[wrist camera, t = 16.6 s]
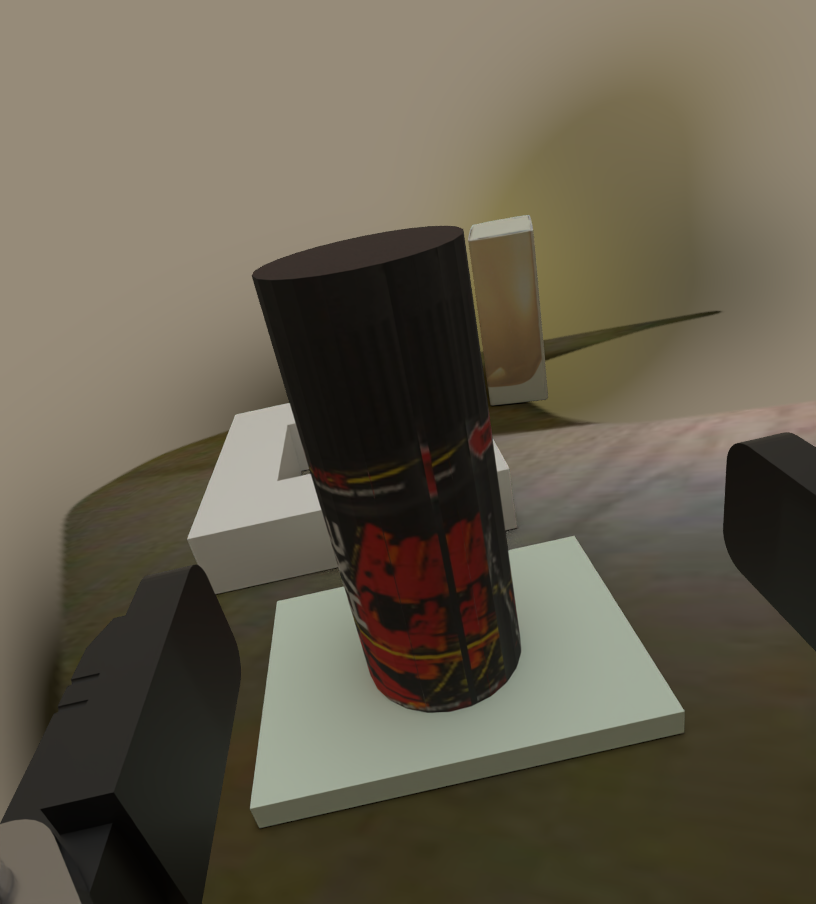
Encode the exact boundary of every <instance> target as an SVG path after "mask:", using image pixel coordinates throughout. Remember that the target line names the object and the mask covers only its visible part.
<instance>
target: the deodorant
mask: <svg viewBox="0 0 816 904" xmlns="http://www.w3.org/2000/svg"><path fill="white" fill-rule="evenodd" d="M252 278H253V281H254V285H255V288H256V291H257V295H258V298H259V302H260V305H261V308H262V311H263V315H264V318H265V322H266V325H267V328H268V332H269V335H270V339H271V342H272V346H273V349H274V352H275V356H276V359H277V362H278V366H279V369H280V372H281V376H282V379H283V383H284V386H285V388H286V393H287V396H288V399H289V403H290V406H291V410H292V413H293V416H294V420H295V423H296V426H297V430H298V433H299V436H300V440H301V443H302V447H303V450H304V453H305V457H306V460H307V463H308V467H309V470H310V474H311V477H312V480H313V484H314V487H315V490H316V494H317V497H318V501H319V504H320V507H321V511H322V514H323V517H324V521H325V524H326V527H327V531H328V534H329V538H330V541H331V544H332V548H333V551H334V554H335V558H336V561H337V565H338V568H339V571H340V575H341V578H342V581H343V585H344V588H345V591H346V595H347V598H348V602H349V605H350V608H351V612H352V615H353V618H354V622H355V625H356V629H357V632H358V635H359V639H360V642H361V645H362V649H363V652H364V656H365V659H366V662H367V666H368V669H369V672H370V675H371V677H372V679H373V681H374V683H375V685H376V687H377V689H378V690H379V691H380V692H381V693H382V694H384V695H385V696H386V697H387V698H388V699H389V700H390V701H392V702H394V703H396V704H398V705H400V706H402V707H404V708H406V709H411V710H416V711H421V712H426V713H436V712H451V711H455V710H459V709H463V708H467V707H471V706H473V705H475V704H477V703H479V702H481V701H483V700H485V699H487V698H489V697H491V696H492V695H493V694H494V693H496V692H497V691H498V690H499V689H500V688H501V687H502V686H504V685H505V684H506V683H507V682H508V680H509V679H510V677H511V676H512V674H513V673H514V671H515V670H516V668H517V665H518V662H519V658H520V655H521V640H520V631H519V624H518V617H517V610H516V603H515V596H514V588H513V581H512V574H511V567H510V560H509V553H508V546H507V538H506V531H505V524H504V517H503V510H502V503H501V495H500V488H499V481H498V474H497V467H496V460H495V453H494V445H493V438H492V431H491V424H490V417H489V410H488V403H487V395H486V388H485V381H484V374H483V367H482V360H481V353H480V346H479V338H478V331H477V324H476V317H475V310H474V304H473V296H472V288H471V281H470V274H469V268H468V260H467V253H466V246H465V238H464V231H463V229H461V228H459V227H455V226H428V227H419V228H409V229H402V230H395V231H389V232H383V233H377V234H372V235H367V236H362V237H357V238H352V239H348V240H343V241H339V242H335V243H331V244H327V245H323V246H319V247H315V248H312V249H308V250H305V251H301V252H298V253H295V254H292V255H289V256H286V257H283V258H280V259H277V260H275V261H273V262H271V263H268V264H266V265H264V266H262V267H260V268H259V269H257V270H255V271H254V272H253V275H252Z"/></svg>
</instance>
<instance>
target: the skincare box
mask: <svg viewBox="0 0 816 904" xmlns="http://www.w3.org/2000/svg"><path fill="white" fill-rule="evenodd" d="M468 242H469V250H470V257H471V264H472V272H473V279H474V286H475V293H476V301H477V308H478V314H479V323H480V330H481V338H482V345H483V352H484V359H485V367H486V376H487V383H488V390H489V397H490V404H491V405H501V404H510V403H520V402H529V401H538V400H546V399H547V398H548V391H547V380H546V370H545V357H544V345H543V334H542V324H541V312H540V301H539V290H538V278H537V267H536V256H535V246H534V234H533V227H532V222H531V218H530V215H527V216H526V215H525V216H518V217H512V218H507V219H502V220H496V221H490V222H485V223H481V224H476V225H473V226H472V227H471V229H470V233H469V238H468Z"/></svg>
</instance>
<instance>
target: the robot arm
mask: <svg viewBox="0 0 816 904" xmlns="http://www.w3.org/2000/svg"><path fill="white" fill-rule="evenodd" d="M723 534H724V540H725V544H726V548H727V550H728V553H729V555H730V557H731V559H732V561H733V563H734V564H735V566H736V567H737V569H738V570H739V571H740V572H741V573H742V574H743V575H744V576H745V577H746V578H747V580H748V581H749V582H750V583H751V584H752V585H753V586H754V587H755V588H756V589H757V590H758V591H759V592H760V593H761V594H762V595H763V596H764V597H765V598H766V600H767V601H768V602H769V603H770V604H771V605H772V606H773V607H774V608H775V609H776V610H777V611H778V612H779V613H780V614H781V615H782V616H783V617H784V618H785V620H786V621H787V622H788V623H789V624H790V625H791V626H792V627H793V628H794V629H795V630H796V631H797V632H798V633H799V634H800V635H801V636H802V637H803V638H804V640H805V641H806V642H807V643H808V644H809V645H810V646H811V647H812V648H813V649H814V650H815V651H816V447H814V446H813V445H811V444H810V443H808V442H806V441H805V440H803V439H802V438H800V437H798V436H797V435H795V434H793V433H781V434H776V435H772V436H767V437H763V438H759V439H754V440H750V441H745V442H741V443H737V444H734V445H733V446H732V447H731V448H730V450H729V452H728V456H727V465H726V484H725V504H724V523H723ZM240 680H241V665H240V657H239V651H238V647H237V644H236V641H235V638H234V636H233V633H232V631H231V629H230V627H229V624H228V622H227V620H226V618H225V615H224V613H223V611H222V608H221V606H220V604H219V602H218V599H217V597H216V595H215V593H214V590H213V588H212V586H211V584H210V581H209V579H208V577H207V575H206V573H205V571H204V570H203V569H202V568H201V567H200V566H199V565H192V566H187V567H183V568H178V569H174V570H169V571H165V572H161V573H156V574H152V575H147V576H145V577H144V578H143V579H142V580H141V582H140V584H139V586H138V589H137V591H136V593H135V595H134V598H133V600H132V602H131V604H130V607H129V609H128V611H127V613H126V616H122V617H117V618H114V619H113V620H112V621H111V622H110V623H109V624H108V625H107V626H106V627H105V628H104V629H103V631H102V632H101V633H100V634H99V635H98V636H97V637H96V638H95V639H94V640H93V641H92V643H91V644H90V645H89V646H88V647H87V648H86V650H85V652H84V654H83V656H82V658H81V660H80V662H79V664H78V666H77V668H76V670H75V672H74V674H73V676H72V678H71V681H72V685H70V686H68V687H67V689H66V691H65V693H64V695H63V697H62V699H61V701H60V703H59V705H58V709H59V711H58V713H55V714H54V715H53V717H52V719H51V721H50V723H49V725H48V727H47V729H46V731H45V733H44V735H43V737H42V740H41V741H40V743H39V746H38V748H37V750H36V752H35V754H34V756H33V758H32V760H31V762H30V764H29V766H28V768H27V770H26V772H25V774H24V776H23V778H22V780H21V782H20V784H19V786H18V788H17V790H16V792H15V794H14V796H13V798H12V801H11V802H10V805H9V806H8V808H7V811H6V813H5V815H4V817H3V819H2V821H1V823H0V904H202V898H203V893H204V887H205V881H206V876H207V870H208V864H209V858H210V853H211V847H212V841H213V836H214V830H215V824H216V818H217V813H218V807H219V801H220V795H221V790H222V784H223V778H224V773H225V767H226V761H227V755H228V750H229V744H230V738H231V732H232V727H233V721H234V715H235V710H236V704H237V698H238V692H239V687H240Z"/></svg>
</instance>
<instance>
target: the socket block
mask: <svg viewBox="0 0 816 904" xmlns="http://www.w3.org/2000/svg"><path fill="white" fill-rule="evenodd" d="M493 445H494V453H495V460H496V467H497V474H498V481H499V488H500V495H501V503H502V510H503V517H504V524H505V530H510V529H514V528H517V523H516V515H515V507H514V499H513V492H512V484H511V476H510V469H509V467H508V465H507V463H506V462H505V460H504V458H503V456H502V454H501V453H500V451H499V449H498V447H497V445H496V444H495V442H494V440H493ZM308 469H309V467H308V463H307V460H306V457H305V453H304V450H303V447H302V443H301V440H300V436H299V433H298V430H297V426H296V423H295V420H294V416H293V413H292V410H291V406H290V403H288V404H283V405H278V406H274V407H269V408H264V409H260V410H256V411H250V412H246V413H241V414H237V415H235V417H234V420H233V423H232V425H231V428H230V430H229V433H228V435H227V438H226V441H225V443H224V446H223V448H222V451H221V453H220V456H219V459H218V461H217V464H216V466H215V469H214V471H213V474H212V477H211V479H210V482H209V484H208V487H207V489H206V492H205V495H204V497H203V500H202V502H201V505H200V507H199V510H198V513H197V515H196V518H195V520H194V523H193V525H192V528H191V531H190V533H189V536H188V538H187V540H188V543H189V545H190V547H191V550H192V552H193V554H194V557H195V559H196V561H197V564H198V565H199V566H200V567H201V568H202V569H203V570H204V571H205V573H206V575H207V577H208V579H209V581H210V584H211V586H212V588H213V590H214V593H215V594H219V593H223V592H228V591H232V590H237V589H241V588H246V587H250V586H255V585H260V584H264V583H269V582H273V581H278V580H282V579H287V578H291V577H296V576H300V575H305V574H310V573H314V572H319V571H323V570H328V569H332V568H337V567H338V565H337V561H336V558H335V554H334V551H333V548H332V544H331V541H330V538H329V534H328V531H327V527H326V524H325V521H324V517H323V514H322V511H321V507H320V504H319V501H318V497H317V494H316V490H315V487H314V484H313V480H312V477H311V474H307V475H303V476H301V471H303V470H308Z"/></svg>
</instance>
